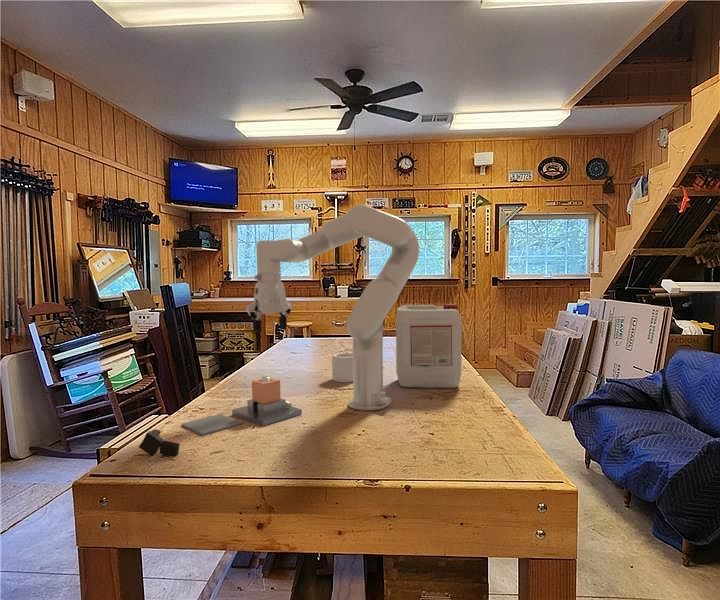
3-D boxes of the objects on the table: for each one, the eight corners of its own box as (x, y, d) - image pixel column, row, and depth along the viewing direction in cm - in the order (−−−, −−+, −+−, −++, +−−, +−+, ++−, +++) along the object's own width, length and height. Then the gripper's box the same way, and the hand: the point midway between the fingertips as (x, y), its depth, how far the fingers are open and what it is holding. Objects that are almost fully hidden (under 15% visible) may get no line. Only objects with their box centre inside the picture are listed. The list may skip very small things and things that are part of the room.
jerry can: (457, 377, 184) (457, 302, 182) (463, 389, 165) (463, 306, 163) (397, 377, 186) (396, 302, 184) (396, 389, 168) (395, 306, 166)
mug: (359, 382, 178) (358, 357, 177) (331, 383, 178) (330, 357, 178) (360, 374, 192) (359, 350, 191) (334, 375, 192) (333, 351, 191)
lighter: (173, 463, 112) (184, 444, 111) (168, 467, 110) (179, 448, 109) (143, 443, 113) (154, 424, 112) (138, 447, 110) (149, 427, 110)
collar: (280, 399, 140) (280, 380, 140) (264, 404, 136) (263, 383, 136) (268, 396, 144) (268, 377, 144) (252, 400, 140) (251, 380, 140)
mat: (241, 424, 132) (241, 422, 132) (202, 435, 123) (202, 433, 123) (219, 415, 140) (219, 413, 140) (181, 425, 131) (181, 423, 131)
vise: (301, 414, 140) (300, 376, 139) (263, 426, 130) (261, 385, 129) (270, 404, 151) (269, 369, 150) (232, 414, 141) (230, 377, 140)
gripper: (251, 279, 143) (253, 334, 144) (297, 277, 155) (298, 328, 156) (239, 279, 148) (241, 332, 149) (284, 277, 160) (285, 327, 161)
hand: (270, 330), depth 153 cm, fingers open, 9 cm apart
